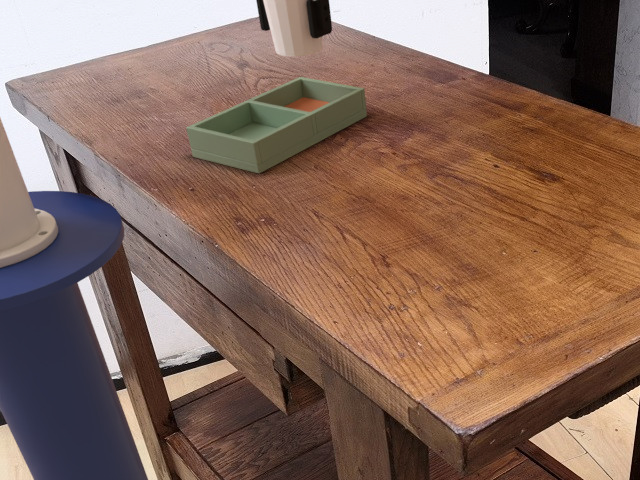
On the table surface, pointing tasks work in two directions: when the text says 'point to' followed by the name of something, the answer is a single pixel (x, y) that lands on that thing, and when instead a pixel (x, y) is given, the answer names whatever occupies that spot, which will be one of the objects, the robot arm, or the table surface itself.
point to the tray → (277, 124)
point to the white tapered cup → (291, 28)
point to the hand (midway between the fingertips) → (296, 30)
